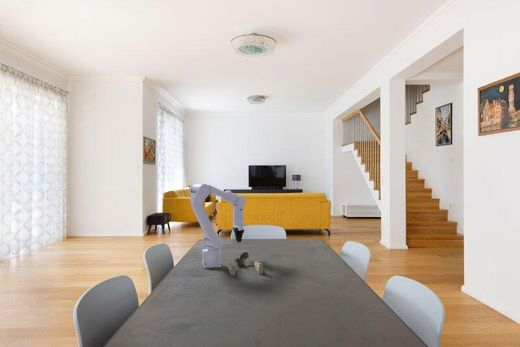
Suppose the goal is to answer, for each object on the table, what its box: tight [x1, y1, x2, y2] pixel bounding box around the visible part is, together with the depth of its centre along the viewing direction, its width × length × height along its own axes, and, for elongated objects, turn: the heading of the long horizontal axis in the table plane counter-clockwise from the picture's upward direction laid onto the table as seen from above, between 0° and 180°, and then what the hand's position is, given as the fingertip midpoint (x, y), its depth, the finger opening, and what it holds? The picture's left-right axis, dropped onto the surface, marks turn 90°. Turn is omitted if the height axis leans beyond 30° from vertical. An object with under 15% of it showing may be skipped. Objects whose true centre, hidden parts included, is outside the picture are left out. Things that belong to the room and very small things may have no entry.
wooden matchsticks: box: [227, 260, 264, 278], centre depth 154 cm, size 16×14×5 cm
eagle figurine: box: [233, 251, 249, 268], centre depth 165 cm, size 8×7×9 cm
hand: (238, 241), depth 176 cm, fingers open, 4 cm apart
